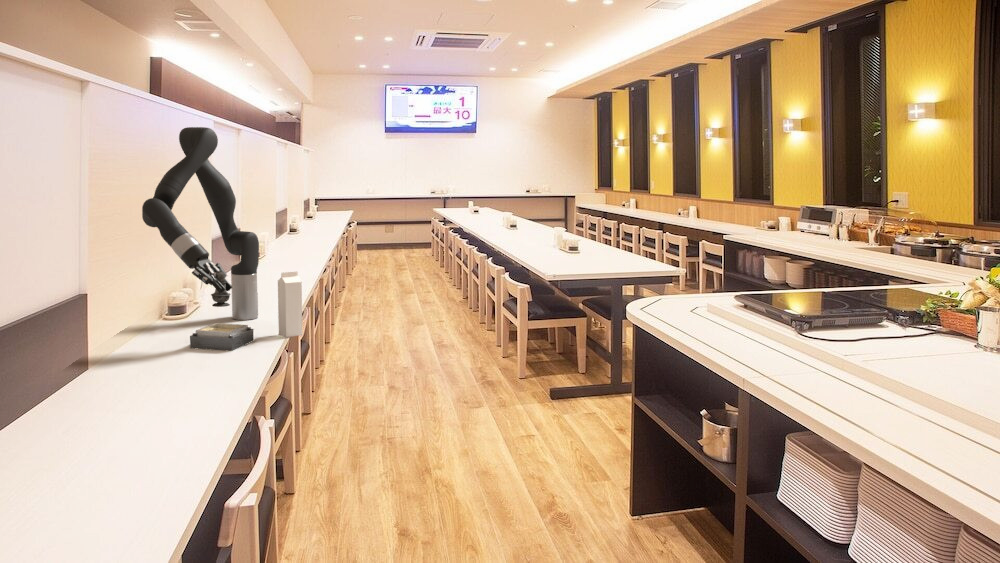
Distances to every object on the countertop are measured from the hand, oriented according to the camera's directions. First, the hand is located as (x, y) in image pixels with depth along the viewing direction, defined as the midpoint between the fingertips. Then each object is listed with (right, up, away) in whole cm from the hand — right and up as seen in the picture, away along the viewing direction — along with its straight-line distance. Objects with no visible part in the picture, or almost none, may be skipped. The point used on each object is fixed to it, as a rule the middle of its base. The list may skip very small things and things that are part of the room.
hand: (226, 290), depth 219 cm
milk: (+15, -16, +19) cm, 29 cm away
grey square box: (-2, -18, +3) cm, 18 cm away
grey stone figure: (-2, -5, +1) cm, 6 cm away
